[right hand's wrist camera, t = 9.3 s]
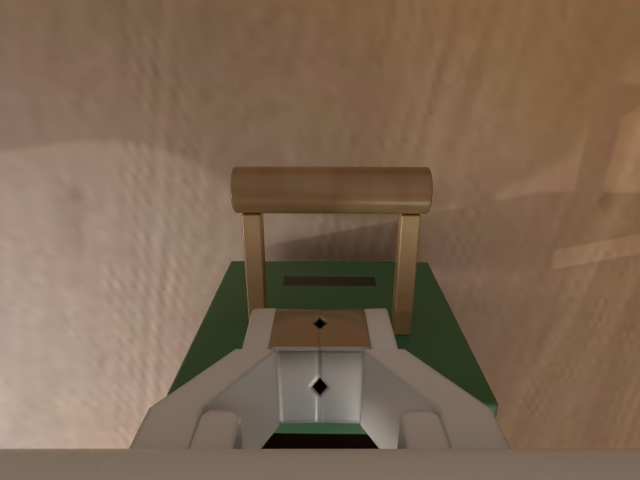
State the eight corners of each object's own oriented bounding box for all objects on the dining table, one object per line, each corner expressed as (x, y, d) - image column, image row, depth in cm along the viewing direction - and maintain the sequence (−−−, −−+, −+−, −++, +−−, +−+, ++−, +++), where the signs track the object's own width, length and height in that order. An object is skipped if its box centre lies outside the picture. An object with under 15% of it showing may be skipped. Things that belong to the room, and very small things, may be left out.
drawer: (221, 137, 19) (130, 200, 10) (440, 137, 19) (537, 202, 10) (252, 530, 28) (219, 743, 19) (401, 532, 28) (434, 747, 19)
